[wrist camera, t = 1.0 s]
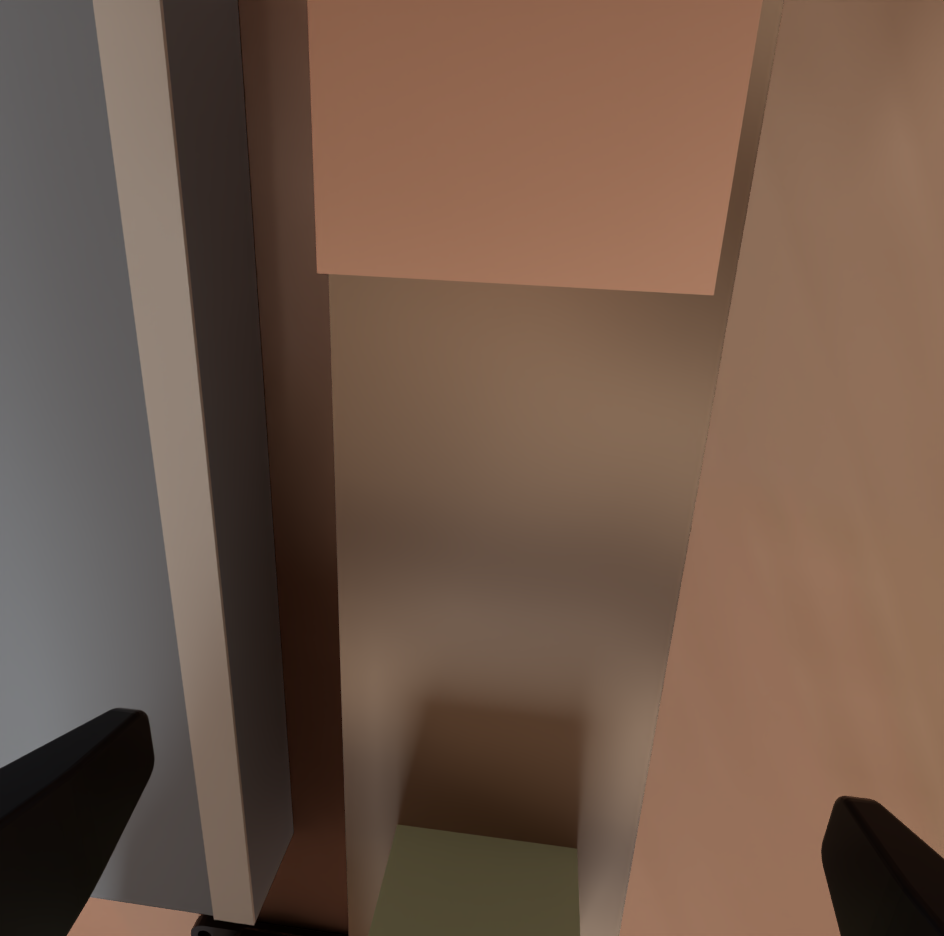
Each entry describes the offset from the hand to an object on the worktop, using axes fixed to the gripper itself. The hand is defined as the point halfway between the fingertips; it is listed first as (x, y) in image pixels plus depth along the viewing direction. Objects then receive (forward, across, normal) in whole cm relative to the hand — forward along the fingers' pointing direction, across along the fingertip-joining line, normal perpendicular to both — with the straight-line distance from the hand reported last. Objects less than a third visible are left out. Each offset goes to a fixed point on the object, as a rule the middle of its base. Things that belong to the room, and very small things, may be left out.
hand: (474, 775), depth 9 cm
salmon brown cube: (+4, 0, -8) cm, 9 cm away
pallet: (+9, 0, 0) cm, 9 cm away
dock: (+9, +11, 0) cm, 14 cm away
